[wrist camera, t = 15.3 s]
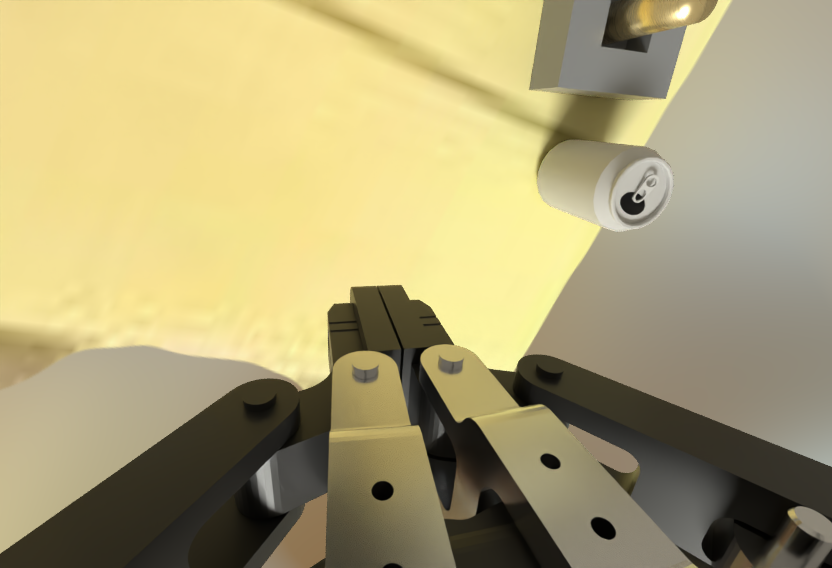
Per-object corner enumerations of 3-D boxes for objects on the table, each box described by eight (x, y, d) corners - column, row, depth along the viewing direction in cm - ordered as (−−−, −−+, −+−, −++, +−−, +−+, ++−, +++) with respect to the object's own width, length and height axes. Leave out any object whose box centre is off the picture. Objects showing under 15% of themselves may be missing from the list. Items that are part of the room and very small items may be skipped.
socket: (554, -62, 34) (590, -87, 30) (663, -38, 37) (710, -58, 33) (529, 89, 39) (557, 87, 35) (627, 100, 42) (665, 98, 38)
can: (520, 191, 43) (590, 217, 33) (556, 126, 41) (642, 131, 31) (569, 217, 46) (647, 249, 36) (604, 157, 44) (698, 171, 34)
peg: (596, 2, 36) (686, -34, 27) (627, 5, 36) (725, -30, 27) (590, 43, 37) (673, 22, 28) (620, 45, 37) (711, 24, 28)
